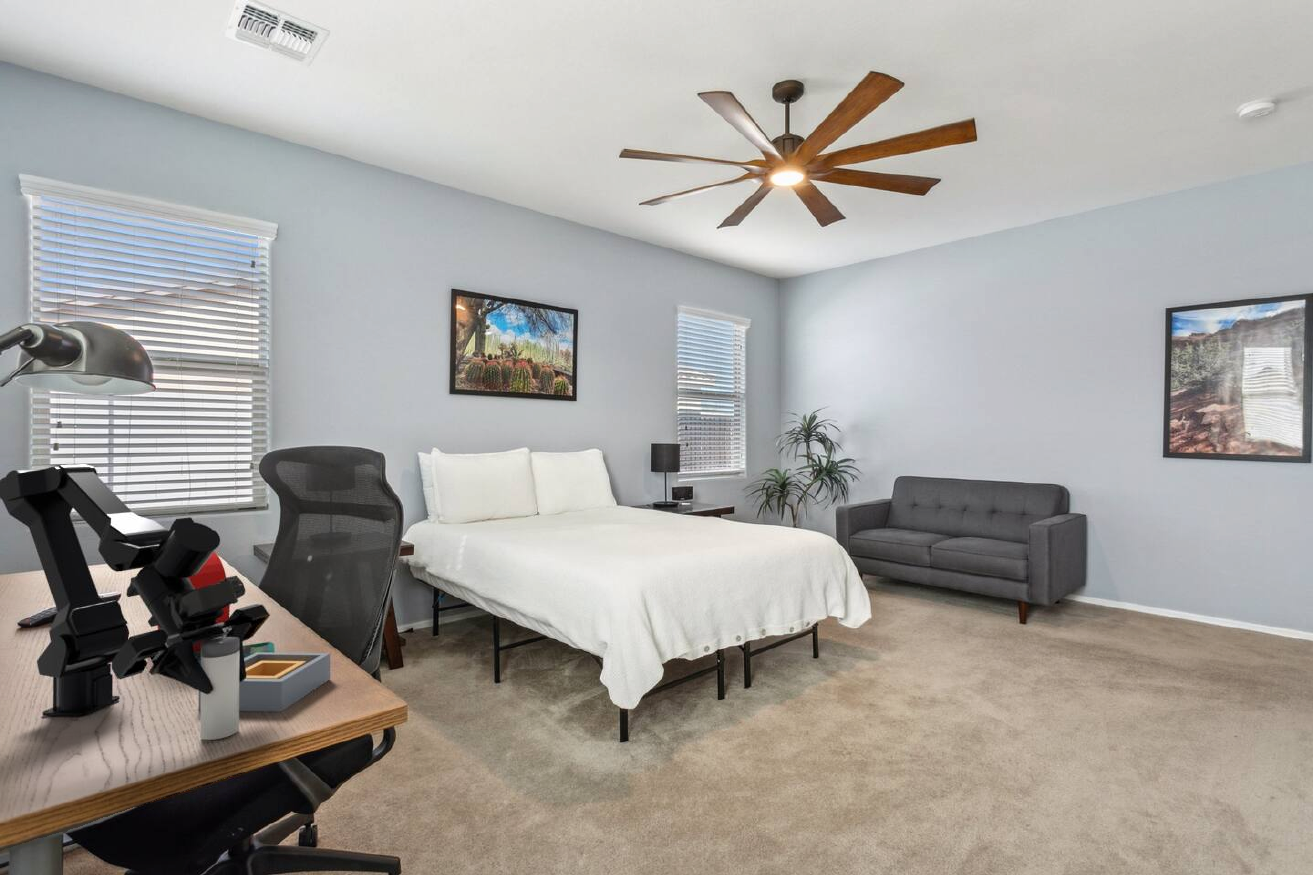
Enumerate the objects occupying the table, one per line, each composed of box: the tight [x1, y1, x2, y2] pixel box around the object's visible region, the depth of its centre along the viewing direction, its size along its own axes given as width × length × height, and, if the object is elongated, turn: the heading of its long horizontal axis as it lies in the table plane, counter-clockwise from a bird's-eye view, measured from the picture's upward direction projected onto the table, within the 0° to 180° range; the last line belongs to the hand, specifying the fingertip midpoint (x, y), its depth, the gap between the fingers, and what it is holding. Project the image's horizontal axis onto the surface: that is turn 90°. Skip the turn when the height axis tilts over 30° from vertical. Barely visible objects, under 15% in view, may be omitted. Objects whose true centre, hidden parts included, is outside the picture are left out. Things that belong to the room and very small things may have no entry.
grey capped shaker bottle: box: [199, 637, 240, 741], centre depth 88 cm, size 4×4×12 cm
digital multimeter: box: [194, 641, 275, 665], centre depth 117 cm, size 7×15×3 cm, turn 120°
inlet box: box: [197, 652, 331, 713], centre depth 103 cm, size 13×13×4 cm
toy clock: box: [156, 551, 231, 652], centre depth 123 cm, size 20×6×20 cm, turn 54°
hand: (227, 685), depth 88 cm, fingers closed on grey capped shaker bottle, 4 cm apart
